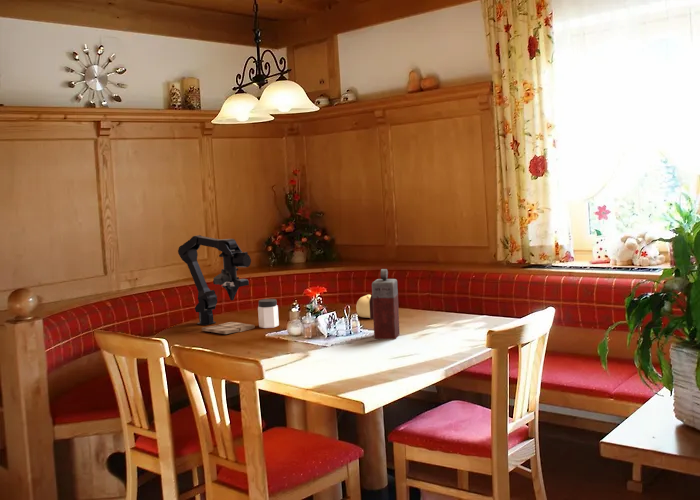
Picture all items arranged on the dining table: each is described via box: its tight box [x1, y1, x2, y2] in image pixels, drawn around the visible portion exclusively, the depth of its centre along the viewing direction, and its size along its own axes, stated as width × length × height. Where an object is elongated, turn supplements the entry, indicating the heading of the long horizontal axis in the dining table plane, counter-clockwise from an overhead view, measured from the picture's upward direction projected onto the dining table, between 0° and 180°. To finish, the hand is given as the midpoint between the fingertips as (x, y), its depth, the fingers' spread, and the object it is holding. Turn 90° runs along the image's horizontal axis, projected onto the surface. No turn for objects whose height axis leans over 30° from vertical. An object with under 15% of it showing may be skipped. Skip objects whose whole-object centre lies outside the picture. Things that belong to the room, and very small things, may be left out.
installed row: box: [217, 321, 256, 333], centre depth 349 cm, size 16×9×2 cm, turn 50°
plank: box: [201, 325, 240, 335], centre depth 342 cm, size 16×8×1 cm, turn 50°
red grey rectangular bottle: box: [369, 268, 400, 340], centre depth 316 cm, size 9×11×28 cm
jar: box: [257, 298, 280, 329], centre depth 349 cm, size 9×8×12 cm
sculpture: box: [355, 293, 372, 319], centre depth 359 cm, size 11×12×11 cm
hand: (232, 300), depth 353 cm, fingers closed
